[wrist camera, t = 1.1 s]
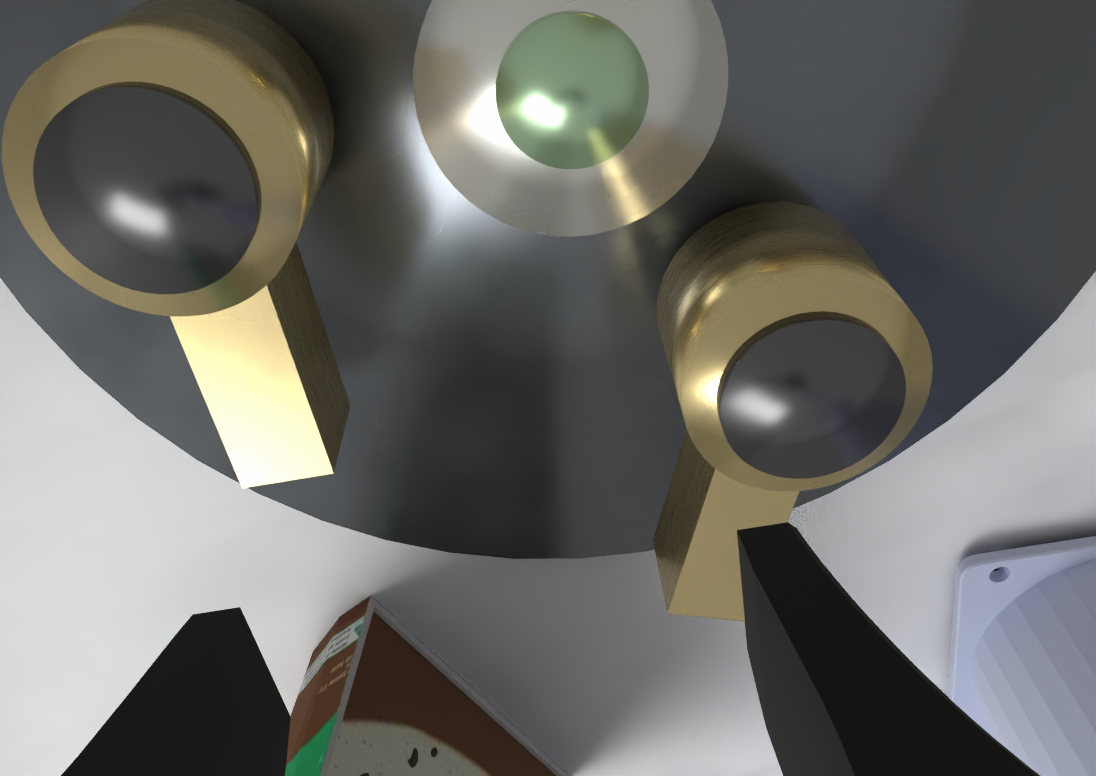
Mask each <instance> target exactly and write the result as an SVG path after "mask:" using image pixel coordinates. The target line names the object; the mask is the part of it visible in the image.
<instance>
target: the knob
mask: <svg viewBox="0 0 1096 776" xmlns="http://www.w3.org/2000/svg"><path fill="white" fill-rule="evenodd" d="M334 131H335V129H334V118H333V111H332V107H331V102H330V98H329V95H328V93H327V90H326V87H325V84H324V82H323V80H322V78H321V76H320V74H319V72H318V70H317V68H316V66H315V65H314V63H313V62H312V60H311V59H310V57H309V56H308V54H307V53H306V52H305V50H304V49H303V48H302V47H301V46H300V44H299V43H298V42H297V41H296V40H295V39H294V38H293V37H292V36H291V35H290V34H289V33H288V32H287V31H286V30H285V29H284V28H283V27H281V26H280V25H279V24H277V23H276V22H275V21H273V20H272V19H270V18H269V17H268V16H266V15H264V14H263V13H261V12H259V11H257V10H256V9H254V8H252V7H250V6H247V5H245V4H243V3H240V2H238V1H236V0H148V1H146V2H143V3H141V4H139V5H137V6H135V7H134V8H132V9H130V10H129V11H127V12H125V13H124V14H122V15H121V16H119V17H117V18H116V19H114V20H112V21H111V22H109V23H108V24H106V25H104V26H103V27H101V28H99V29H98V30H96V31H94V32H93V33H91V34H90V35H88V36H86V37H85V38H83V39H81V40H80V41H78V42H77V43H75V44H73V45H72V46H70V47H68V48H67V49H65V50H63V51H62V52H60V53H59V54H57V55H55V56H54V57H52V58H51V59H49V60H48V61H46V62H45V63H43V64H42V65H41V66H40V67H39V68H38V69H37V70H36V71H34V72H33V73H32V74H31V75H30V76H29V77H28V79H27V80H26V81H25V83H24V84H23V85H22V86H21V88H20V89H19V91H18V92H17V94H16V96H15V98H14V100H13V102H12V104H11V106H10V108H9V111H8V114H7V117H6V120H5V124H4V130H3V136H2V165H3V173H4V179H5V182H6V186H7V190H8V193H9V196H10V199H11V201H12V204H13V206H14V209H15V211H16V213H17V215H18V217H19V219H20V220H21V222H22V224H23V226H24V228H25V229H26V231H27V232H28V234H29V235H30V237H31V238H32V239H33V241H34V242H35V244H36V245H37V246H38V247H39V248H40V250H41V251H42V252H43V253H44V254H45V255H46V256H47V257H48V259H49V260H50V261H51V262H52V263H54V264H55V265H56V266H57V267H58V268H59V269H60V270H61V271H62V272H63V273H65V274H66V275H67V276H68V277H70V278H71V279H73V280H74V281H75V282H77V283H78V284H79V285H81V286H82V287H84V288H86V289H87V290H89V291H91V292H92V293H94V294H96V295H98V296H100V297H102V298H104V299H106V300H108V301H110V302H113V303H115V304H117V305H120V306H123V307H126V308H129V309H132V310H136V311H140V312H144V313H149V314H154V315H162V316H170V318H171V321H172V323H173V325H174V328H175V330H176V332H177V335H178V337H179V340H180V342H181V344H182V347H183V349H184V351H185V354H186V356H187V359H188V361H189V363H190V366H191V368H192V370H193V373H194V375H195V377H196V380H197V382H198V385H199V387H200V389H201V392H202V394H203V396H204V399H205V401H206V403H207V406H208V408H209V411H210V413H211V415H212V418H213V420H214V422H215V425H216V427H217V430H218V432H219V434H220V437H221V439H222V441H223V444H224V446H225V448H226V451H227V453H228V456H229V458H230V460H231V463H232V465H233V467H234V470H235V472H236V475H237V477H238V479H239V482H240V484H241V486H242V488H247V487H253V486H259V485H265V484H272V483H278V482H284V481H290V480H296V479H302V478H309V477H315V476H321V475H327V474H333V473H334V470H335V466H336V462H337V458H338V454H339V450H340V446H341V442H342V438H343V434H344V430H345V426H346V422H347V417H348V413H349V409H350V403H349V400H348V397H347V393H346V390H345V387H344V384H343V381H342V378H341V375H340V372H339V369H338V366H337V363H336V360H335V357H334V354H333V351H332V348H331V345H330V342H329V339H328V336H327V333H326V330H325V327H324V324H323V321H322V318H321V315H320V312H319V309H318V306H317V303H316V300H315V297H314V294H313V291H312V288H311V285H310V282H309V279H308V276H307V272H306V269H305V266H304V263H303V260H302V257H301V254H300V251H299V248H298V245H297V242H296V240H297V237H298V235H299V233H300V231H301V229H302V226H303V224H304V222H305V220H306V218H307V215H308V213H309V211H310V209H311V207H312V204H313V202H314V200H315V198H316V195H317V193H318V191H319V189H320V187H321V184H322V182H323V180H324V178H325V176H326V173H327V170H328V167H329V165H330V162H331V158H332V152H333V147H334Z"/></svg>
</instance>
